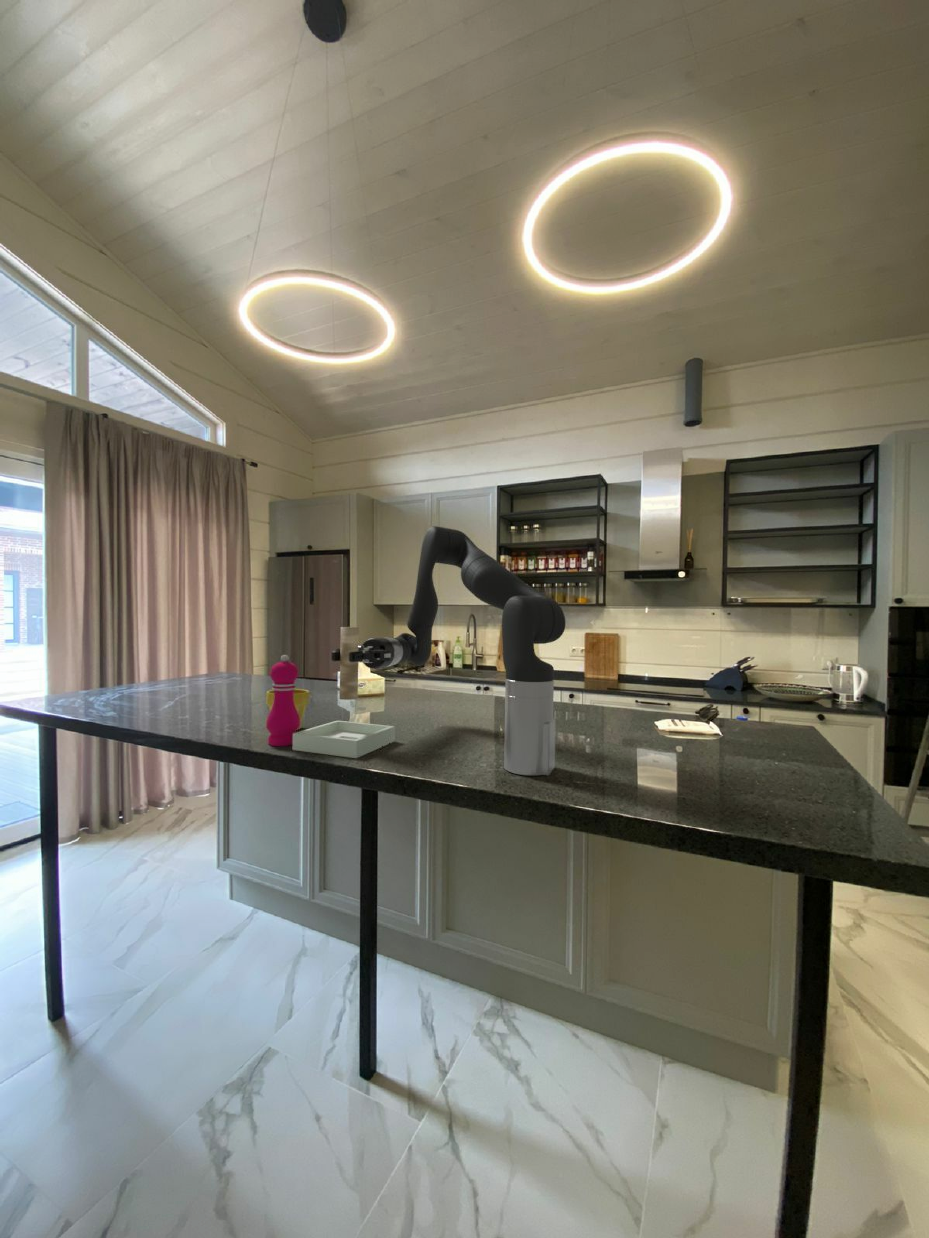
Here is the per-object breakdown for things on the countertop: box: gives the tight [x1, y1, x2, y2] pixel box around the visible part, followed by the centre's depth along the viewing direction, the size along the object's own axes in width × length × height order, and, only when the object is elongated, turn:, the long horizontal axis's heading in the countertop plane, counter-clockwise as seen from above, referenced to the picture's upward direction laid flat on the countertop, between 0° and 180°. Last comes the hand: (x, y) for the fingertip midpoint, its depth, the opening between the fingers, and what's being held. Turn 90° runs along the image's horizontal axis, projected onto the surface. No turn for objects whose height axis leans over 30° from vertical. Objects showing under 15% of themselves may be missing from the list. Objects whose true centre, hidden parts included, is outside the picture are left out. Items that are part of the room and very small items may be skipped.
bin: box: [292, 720, 396, 759], centre depth 111 cm, size 16×16×4 cm
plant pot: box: [265, 688, 310, 731], centre depth 127 cm, size 10×10×10 cm
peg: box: [339, 626, 360, 701], centre depth 112 cm, size 4×4×16 cm
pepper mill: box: [265, 654, 300, 747], centre depth 113 cm, size 7×7×20 cm
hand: (342, 656), depth 109 cm, fingers closed on peg, 4 cm apart
